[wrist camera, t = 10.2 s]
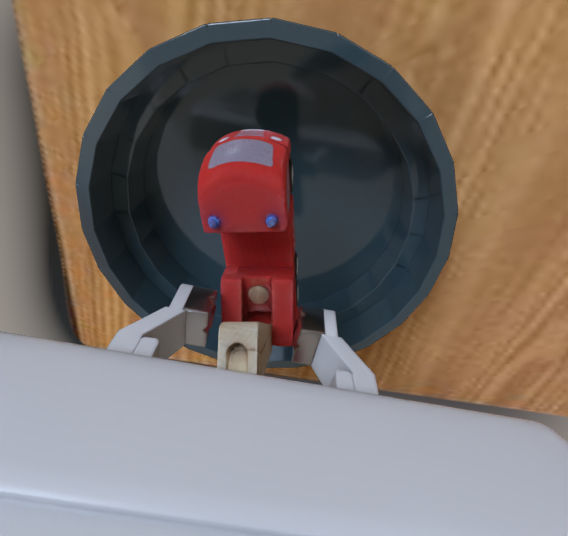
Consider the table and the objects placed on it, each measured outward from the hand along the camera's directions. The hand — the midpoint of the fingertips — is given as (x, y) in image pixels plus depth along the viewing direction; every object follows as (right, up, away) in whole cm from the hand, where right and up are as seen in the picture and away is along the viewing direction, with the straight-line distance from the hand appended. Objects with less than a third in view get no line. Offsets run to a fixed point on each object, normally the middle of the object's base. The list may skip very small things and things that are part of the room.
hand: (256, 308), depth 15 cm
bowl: (0, +6, +9) cm, 11 cm away
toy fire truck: (0, +2, +3) cm, 4 cm away
